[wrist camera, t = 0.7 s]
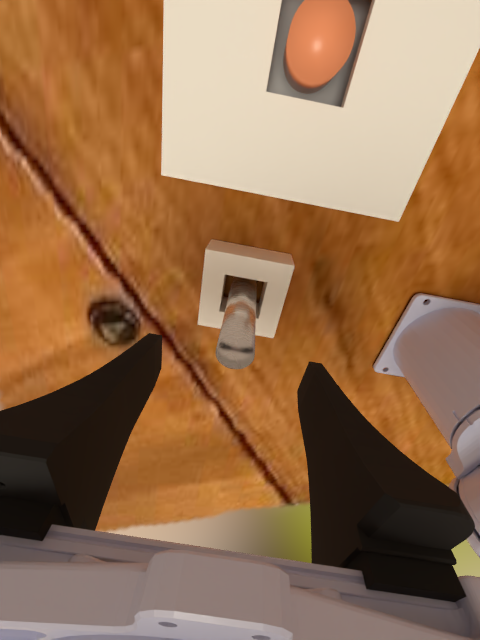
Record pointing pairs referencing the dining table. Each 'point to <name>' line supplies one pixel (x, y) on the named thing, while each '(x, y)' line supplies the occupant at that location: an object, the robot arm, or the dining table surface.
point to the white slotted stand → (312, 103)
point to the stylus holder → (249, 265)
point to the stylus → (238, 325)
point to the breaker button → (316, 48)
